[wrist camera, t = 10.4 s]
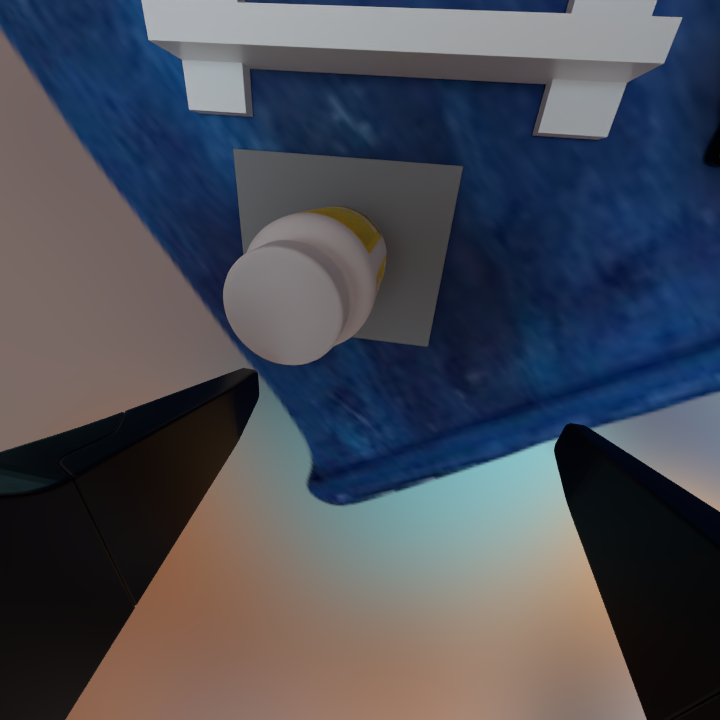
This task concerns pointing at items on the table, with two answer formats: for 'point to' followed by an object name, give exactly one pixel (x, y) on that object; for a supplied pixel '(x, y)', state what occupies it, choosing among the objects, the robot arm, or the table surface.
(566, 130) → the white barrier
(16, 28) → the table surface
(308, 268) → the supplement bottle
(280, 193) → the slate mat
